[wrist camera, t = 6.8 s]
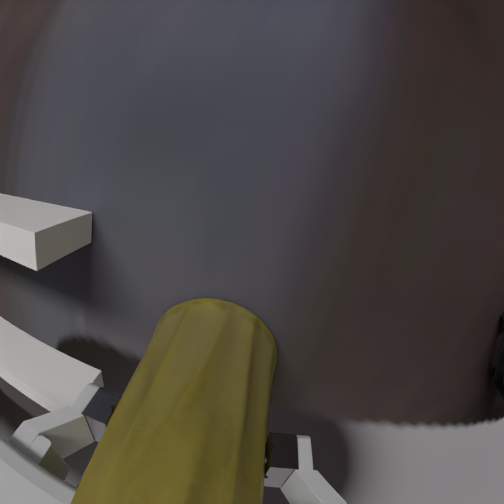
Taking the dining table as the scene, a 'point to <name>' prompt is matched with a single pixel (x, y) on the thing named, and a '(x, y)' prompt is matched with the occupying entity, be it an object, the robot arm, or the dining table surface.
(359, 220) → the dining table surface
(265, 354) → the vase
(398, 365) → the dining table surface
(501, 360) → the holder
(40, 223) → the bracket
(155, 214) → the dining table surface
